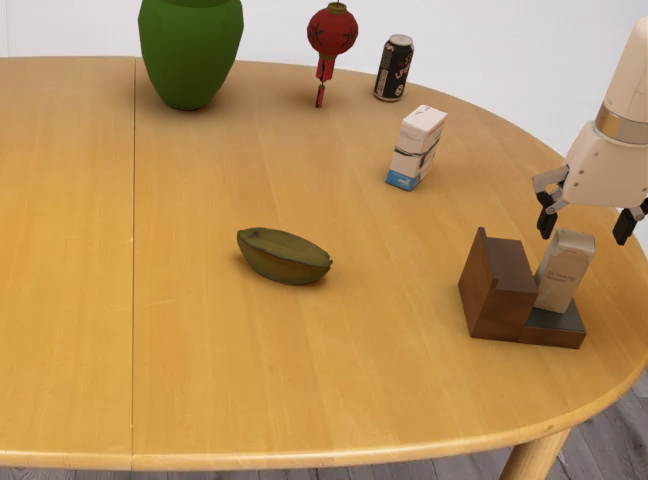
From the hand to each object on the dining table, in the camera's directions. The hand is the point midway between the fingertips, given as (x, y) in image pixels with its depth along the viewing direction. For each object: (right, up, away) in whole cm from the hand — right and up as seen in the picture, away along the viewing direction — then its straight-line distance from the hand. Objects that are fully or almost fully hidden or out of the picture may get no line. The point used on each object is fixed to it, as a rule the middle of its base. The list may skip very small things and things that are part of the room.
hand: (580, 236), depth 117 cm
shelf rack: (-4, -10, +10) cm, 15 cm away
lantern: (-25, +31, +54) cm, 67 cm away
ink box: (-12, +14, +36) cm, 41 cm away
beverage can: (-10, +34, +58) cm, 69 cm away
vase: (-51, +32, +53) cm, 80 cm away
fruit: (-38, -3, +16) cm, 41 cm away
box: (-1, -9, +8) cm, 12 cm away
